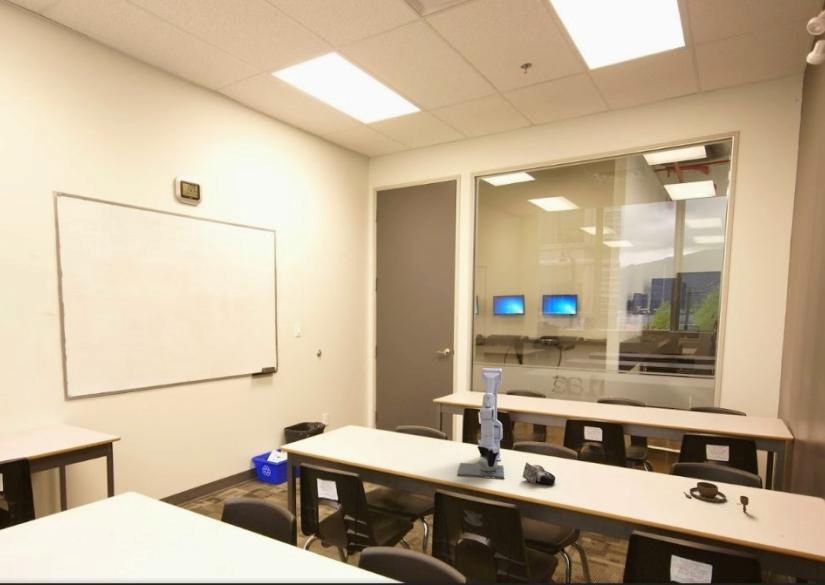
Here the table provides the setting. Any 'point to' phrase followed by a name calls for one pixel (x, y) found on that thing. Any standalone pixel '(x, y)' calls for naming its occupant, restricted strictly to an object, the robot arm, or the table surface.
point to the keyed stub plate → (479, 471)
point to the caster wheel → (538, 474)
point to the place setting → (713, 494)
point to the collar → (485, 463)
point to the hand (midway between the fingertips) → (487, 464)
